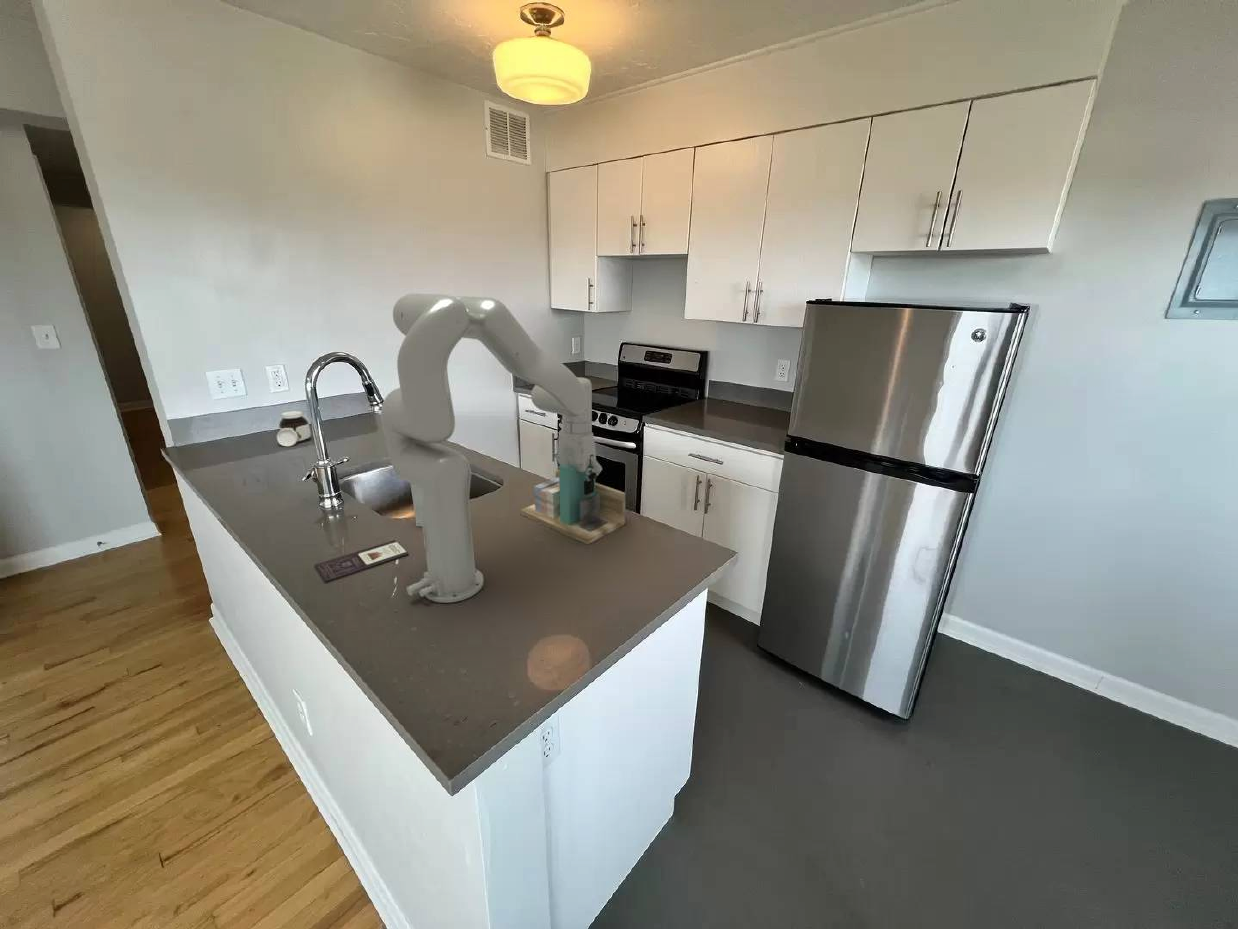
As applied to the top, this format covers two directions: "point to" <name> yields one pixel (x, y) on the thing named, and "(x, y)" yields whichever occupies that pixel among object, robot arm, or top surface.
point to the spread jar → (293, 429)
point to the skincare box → (417, 502)
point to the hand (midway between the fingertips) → (577, 488)
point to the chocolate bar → (360, 561)
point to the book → (571, 493)
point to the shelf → (595, 511)
